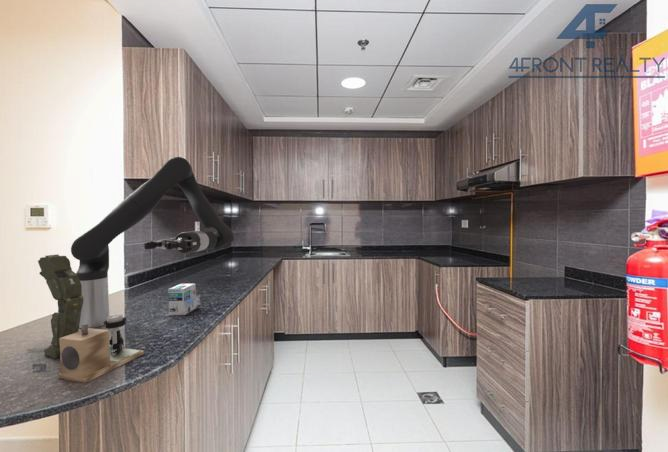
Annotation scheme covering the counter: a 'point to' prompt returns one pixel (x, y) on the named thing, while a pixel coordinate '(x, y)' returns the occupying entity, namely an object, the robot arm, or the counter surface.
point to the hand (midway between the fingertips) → (156, 246)
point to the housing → (90, 355)
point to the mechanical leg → (62, 298)
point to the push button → (115, 333)
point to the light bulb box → (182, 299)
